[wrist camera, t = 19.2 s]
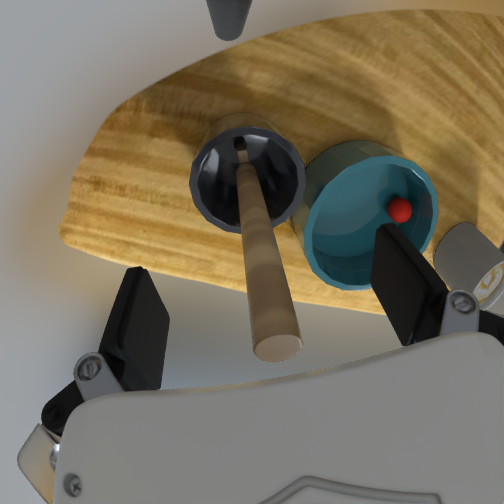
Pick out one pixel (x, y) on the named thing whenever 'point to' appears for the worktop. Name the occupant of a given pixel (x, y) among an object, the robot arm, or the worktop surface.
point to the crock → (260, 156)
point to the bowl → (359, 209)
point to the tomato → (399, 210)
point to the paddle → (264, 271)
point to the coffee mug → (471, 263)
